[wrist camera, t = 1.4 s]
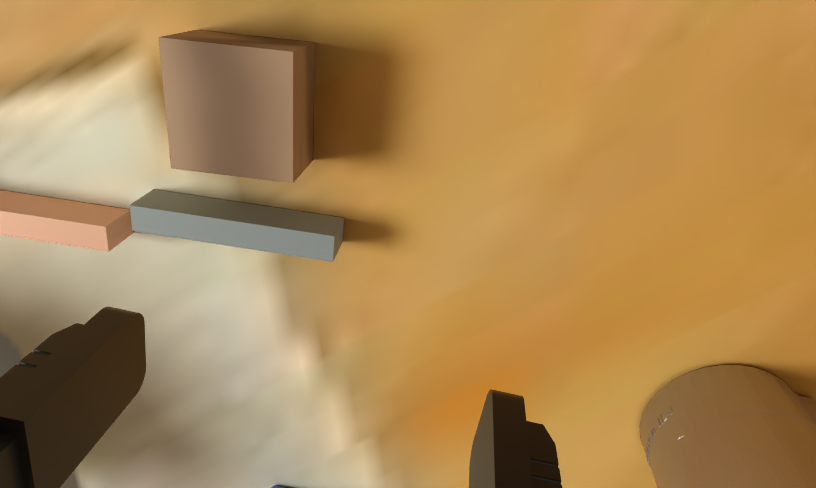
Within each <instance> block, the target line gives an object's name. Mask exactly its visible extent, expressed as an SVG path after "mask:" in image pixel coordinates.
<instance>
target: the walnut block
mask: <svg viewBox="0 0 816 488" xmlns="http://www.w3.org/2000/svg"><path fill="white" fill-rule="evenodd" d="M159 46H160V57H161V67H162V78H163V88H164V99H165V109H166V120H167V130H168V141H169V151H170V161H171V168H172V169H181V170H189V171H197V172H205V173H214V174H222V175H230V176H239V177H247V178H255V179H263V180H272V181H280V182H288V183H293V182H294V181H295V180H296V179H297V178H298V177H299V176H300V174H301V173H302V172H303V171H304V170H305V169H306V167H307V166H308V165H309V164H310V163H311V162H312V160H313V138H314V78H315V42H307V41H297V40H288V39H278V38H269V37H260V36H250V35H241V34H232V33H222V32H213V31H204V30H193V31H188V32H183V33H178V34H173V35H168V36H163V37H159Z"/></svg>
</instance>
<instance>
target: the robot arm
mask: <svg viewBox="0 0 816 488" xmlns="http://www.w3.org/2000/svg"><path fill="white" fill-rule="evenodd" d="M145 372H146V353H145V325H144V318H143V316H142V314H140V313H136V312H131V311H126V310H122V309H117V308H112V307H105V308H103V309H102V310H100V311H99V312H98V313H97V314H96V315H95V316H94V317H92V318H91V319H90V320H89V321H88V322H87V323H86V324H84V325H82V324H78V323H76V324H74V325H72V326H70V327H68V328H65V329H63V330H61V331H59V332H57V333H54V334H52V335H51V336H50V337H49V338H47V339H46V340H45V341H44V342H43V343H41V344H40V345H39V346H38V347H37V348H35V349H34V352H33V353H30V354H28V355H27V356H26V357H25V358H24V359H22V360H21V361H20V363H19V365H15V366H14V367H13V368H12V369H10V370H9V371H8V372H7V373H6V374H4V375H3V376H2V377H1V378H0V488H60V487H61V485H62V484H63V483H64V482H65V480H66V479H67V478H68V477H69V476H70V475H71V473H72V472H73V471H74V470H75V468H76V467H77V466H78V465H79V464H80V462H81V461H82V460H83V459H84V457H85V456H86V455H87V454H88V453H89V451H90V450H91V449H92V448H93V447H94V445H95V444H96V443H97V442H98V440H99V439H100V438H101V437H102V436H103V434H104V433H105V432H106V431H107V429H108V428H109V427H110V426H111V425H112V423H113V422H114V421H115V420H116V419H117V417H118V416H119V415H120V414H121V412H122V411H123V410H124V409H125V408H126V406H127V405H128V404H129V403H130V402H131V400H132V399H133V398H134V397H135V395H136V394H137V393H138V391H139V389H140V387H141V385H142V383H143V380H144V376H145ZM640 438H641V441H642V444H643V447H644V450H645V453H646V456H647V461H648V464H649V466H650V467H651V470H652V473H653V476H654V479H655V481H656V484H657V487H658V488H816V401H815V400H814V399H812V398H808V397H802V396H799V395H797V394H796V393H794V392H793V391H792V390H791V389H790V388H789V387H788V386H787V384H786V383H785V382H784V381H782V380H781V379H779V378H777V377H776V376H774V375H773V374H771V373H769V372H766V371H763V370H760V369H758V368H754V367H748V366H742V365H718V366H712V367H705V368H701V369H698V370H695V371H692V372H689V373H686V374H684V375H682V376H680V377H678V378H677V379H675V380H673V381H671V382H670V383H668V384H667V385H666V386H664V387H663V388H662V389H661V390H659V391H658V392H657V393H656V395H655V396H654V397H653V398H652V399H651V400H650V401H649V403H648V405H647V407H646V409H645V410H644V412H643V415H642V419H641V423H640ZM469 488H562V485H561V477H560V470H559V468H558V458H557V452H556V446H555V443H554V441H553V440H552V438H551V437H550V435H549V433H548V432H547V430H546V429H545V427H544V425H543V424H538V423H533V422H529V421H526V414H525V404H524V398H523V396H519V395H515V394H510V393H505V392H501V391H496V390H491V389H490V390H489V392H488V395H487V398H486V401H485V404H484V408H483V411H482V414H481V418H480V421H479V424H478V427H477V431H476V434H475V437H474V441H473V446H472V451H471V457H470V467H469Z"/></svg>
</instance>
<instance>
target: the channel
mask: <svg viewBox="0 0 816 488" xmlns="http://www.w3.org/2000/svg"><path fill="white" fill-rule="evenodd" d="M130 214H131V223H132V231H135V232H142V233H149V234H155V235H162V236H168V237H175V238H181V239H188V240H194V241H201V242H207V243H214V244H220V245H227V246H233V247H240V248H246V249H253V250H259V251H266V252H272V253H279V254H285V255H292V256H298V257H305V258H311V259H318V260H324V261H331V262H333V260H334V258H335V256H336V254H337V252H338V250H339V248H340V246H341V244H342V242H343V230H344V218H342V217H335V216H329V215H322V214H315V213H309V212H302V211H295V210H289V209H282V208H275V207H269V206H262V205H255V204H249V203H242V202H235V201H229V200H222V199H215V198H209V197H202V196H195V195H189V194H182V193H175V192H169V191H162V190H155V189H153V190H152V191H150V192H149V193H147V194H146V195H144V196H143V197H141V198H140V199H138V200H137V201H135V202H134V203H132V204H131V205H130Z"/></svg>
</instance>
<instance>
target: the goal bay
mask: <svg viewBox="0 0 816 488" xmlns="http://www.w3.org/2000/svg"><path fill="white" fill-rule="evenodd" d="M132 233H133V231H132V223H131V214H130V210H129V209H123V208H116V207H109V206H103V205H96V204H90V203H83V202H77V201H70V200H63V199H57V198H50V197H44V196H37V195H30V194H24V193H17V192H11V191H4V190H0V235H5V236H12V237H18V238H25V239H31V240H38V241H44V242H51V243H57V244H63V245H70V246H76V247H83V248H89V249H96V250H102V251H108V252H109V251H110V250H111V249H113V248H114V247H115V246H117V245H118V244H119V243H121V242H122V241H123V240H125V239H126V238H127V237H128V236H130V235H131V234H132Z"/></svg>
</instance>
